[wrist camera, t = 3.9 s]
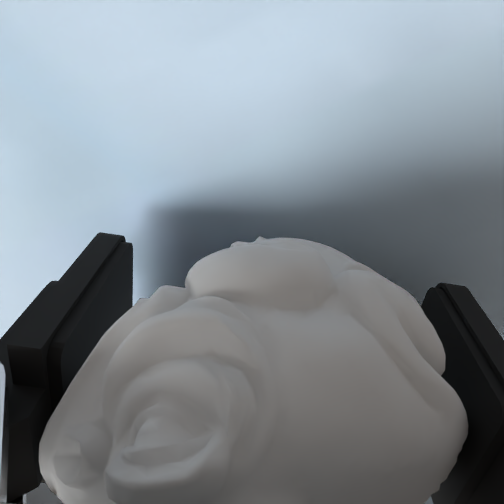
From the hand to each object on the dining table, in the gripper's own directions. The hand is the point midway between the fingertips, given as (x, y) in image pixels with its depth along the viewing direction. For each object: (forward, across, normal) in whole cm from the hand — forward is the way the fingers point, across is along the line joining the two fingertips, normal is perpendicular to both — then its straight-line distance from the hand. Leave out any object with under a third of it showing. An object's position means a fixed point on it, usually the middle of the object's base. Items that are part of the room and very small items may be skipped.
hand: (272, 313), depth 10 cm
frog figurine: (+1, 0, 0) cm, 1 cm away
